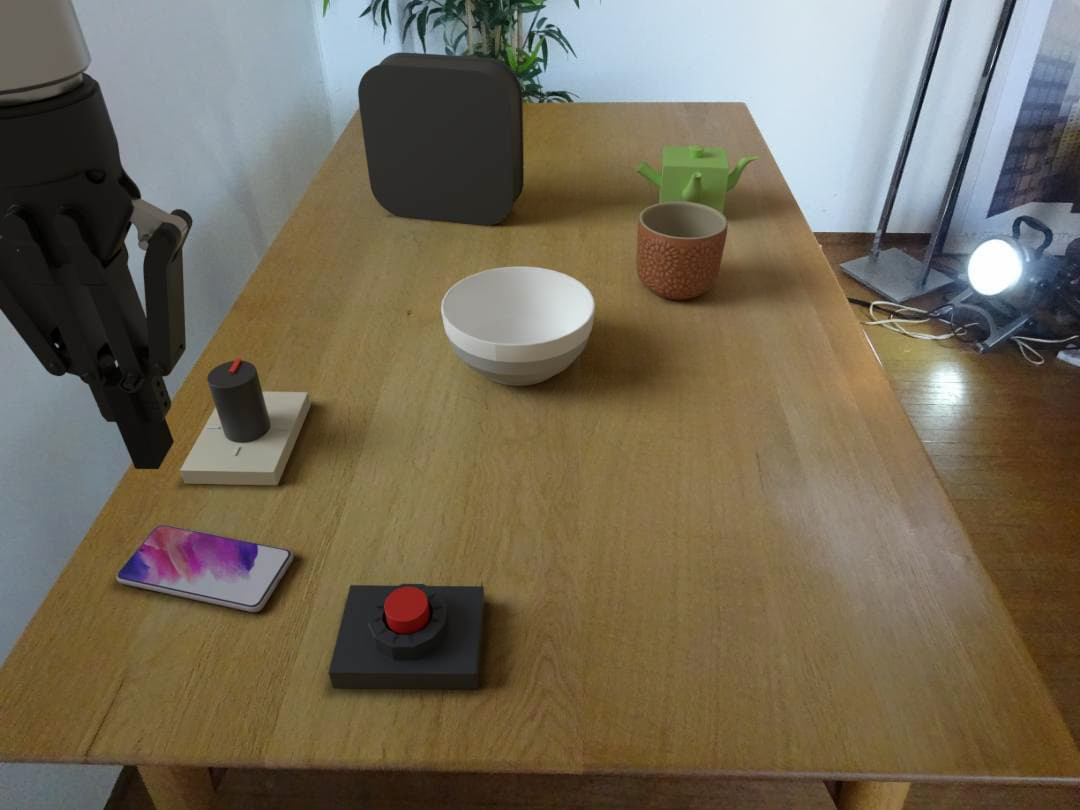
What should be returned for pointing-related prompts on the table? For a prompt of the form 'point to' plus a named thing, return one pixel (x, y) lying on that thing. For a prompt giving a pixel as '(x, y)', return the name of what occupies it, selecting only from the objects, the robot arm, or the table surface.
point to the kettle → (695, 175)
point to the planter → (680, 248)
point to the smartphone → (206, 567)
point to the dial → (239, 401)
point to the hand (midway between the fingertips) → (155, 454)
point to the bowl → (518, 323)
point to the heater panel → (248, 446)
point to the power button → (407, 610)
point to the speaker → (443, 136)
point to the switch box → (410, 641)
